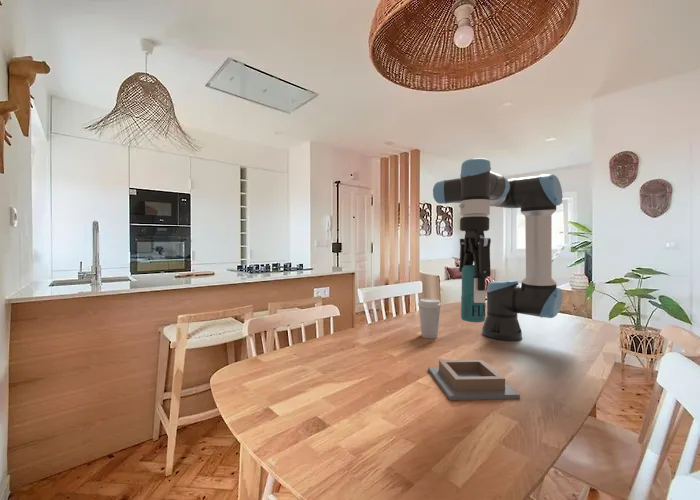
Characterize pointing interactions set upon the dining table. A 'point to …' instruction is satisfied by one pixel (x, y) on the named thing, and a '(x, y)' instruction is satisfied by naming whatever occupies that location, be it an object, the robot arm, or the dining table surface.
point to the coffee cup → (429, 317)
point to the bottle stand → (471, 380)
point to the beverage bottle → (470, 295)
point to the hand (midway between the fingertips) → (473, 299)
